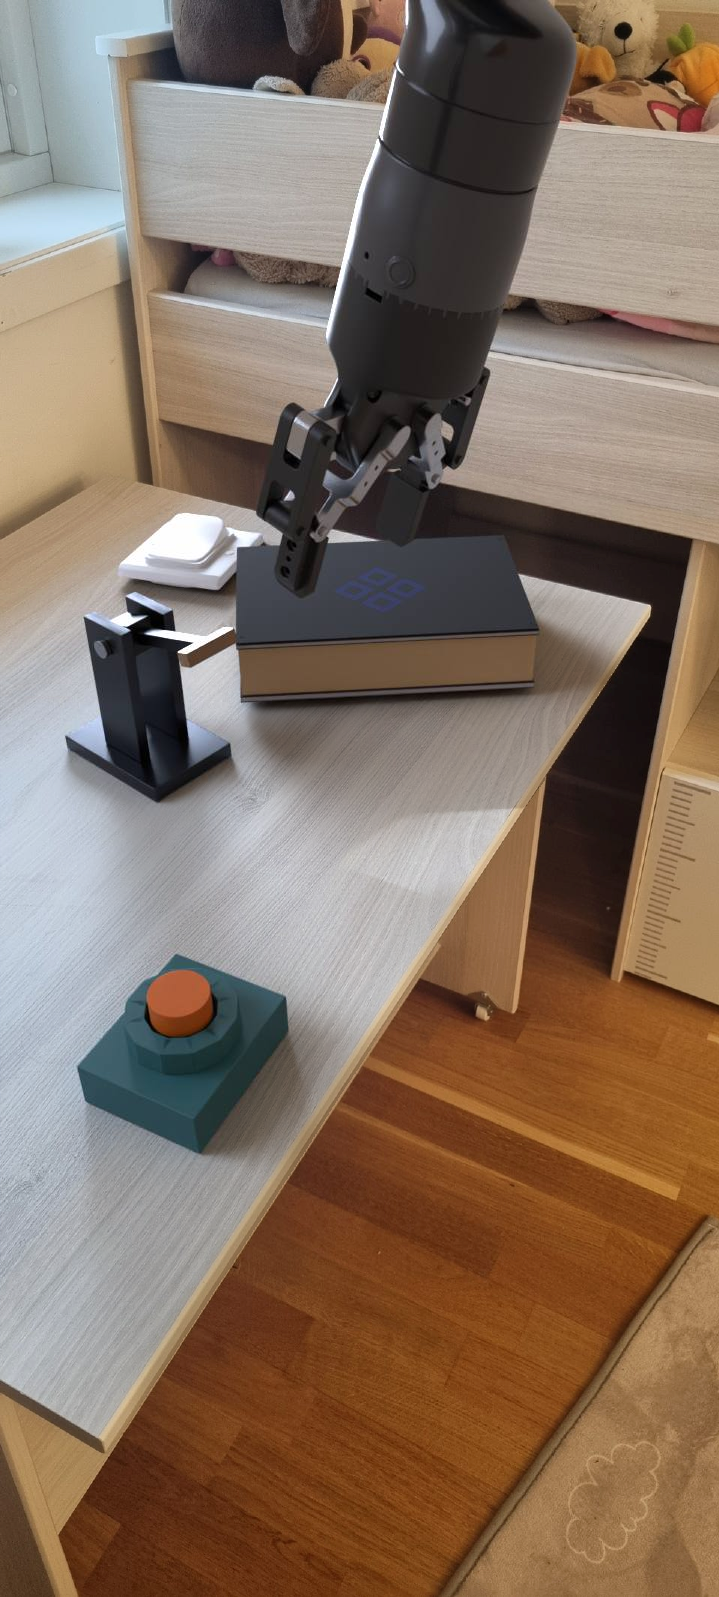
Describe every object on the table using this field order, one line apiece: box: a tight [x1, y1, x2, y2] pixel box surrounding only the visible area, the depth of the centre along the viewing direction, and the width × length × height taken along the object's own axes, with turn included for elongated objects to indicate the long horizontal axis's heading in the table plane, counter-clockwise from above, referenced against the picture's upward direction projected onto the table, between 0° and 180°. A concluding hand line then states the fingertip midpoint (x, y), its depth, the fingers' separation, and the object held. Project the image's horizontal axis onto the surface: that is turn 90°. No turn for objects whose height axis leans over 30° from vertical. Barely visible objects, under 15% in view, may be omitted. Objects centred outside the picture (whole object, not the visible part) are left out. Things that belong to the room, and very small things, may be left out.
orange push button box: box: [76, 953, 290, 1155], centre depth 70 cm, size 10×8×5 cm
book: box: [235, 534, 540, 704], centre depth 107 cm, size 17×25×7 cm
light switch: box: [117, 512, 265, 591], centre depth 122 cm, size 11×4×13 cm
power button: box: [147, 970, 213, 1038], centre depth 68 cm, size 4×4×2 cm
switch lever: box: [110, 612, 238, 669], centre depth 87 cm, size 11×5×2 cm, turn 49°
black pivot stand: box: [64, 591, 232, 803], centre depth 93 cm, size 11×8×13 cm
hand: (344, 562), depth 64 cm, fingers open, 8 cm apart
